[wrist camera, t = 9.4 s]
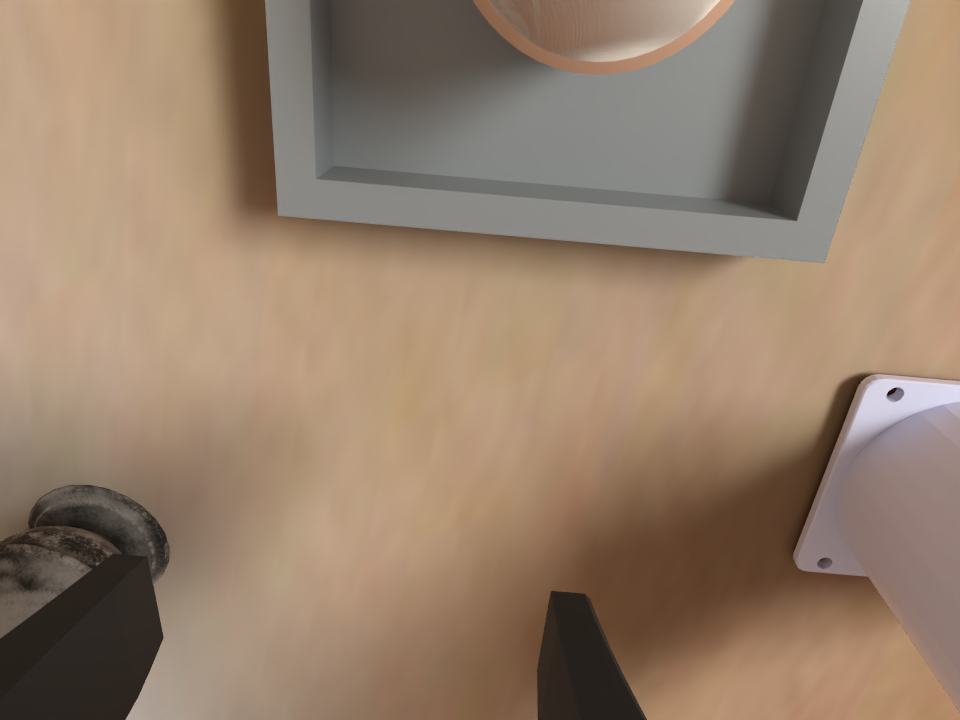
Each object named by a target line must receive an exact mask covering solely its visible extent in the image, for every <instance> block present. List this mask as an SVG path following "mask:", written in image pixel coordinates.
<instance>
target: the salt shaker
mask: <svg viewBox="0 0 960 720" xmlns="http://www.w3.org/2000/svg"><path fill="white" fill-rule="evenodd" d="M28 523H29V529H28V530H25V531H23V532H20V533H18V534H16V535H13V536H11V537H9V538H6V539H5V540H3V541H1V542H0V638H2V637H3V636H4V635H6V634H7V633H8V632H10V631H11V630H13V629H14V628H15V627H17V626H18V625H19V624H21V623H22V622H23V621H25V620H26V619H27V618H29V617H30V616H31V615H33V614H34V613H35V612H37V611H38V610H39V609H41V608H42V607H43V606H45V605H46V604H47V603H49V602H50V601H51V600H53V599H54V598H55V597H57V596H58V595H59V594H60V593H62V592H63V591H64V590H66V589H67V588H68V587H70V586H71V585H72V584H74V583H75V582H76V581H77V580H79V579H80V578H81V577H83V576H84V575H85V574H87V573H88V572H89V571H91V570H92V569H93V568H95V567H96V566H97V565H99V564H100V563H101V562H103V561H104V560H105V559H107V558H108V557H109V556H111V555H112V554H124V555H136V556H147V557H148V562H149V567H150V572H151V577H152V582H153V584H154V583H155V582H156V581H157V580H158V579H159V578H160V577H161V576H162V574H163V573H164V571H165V569H166V567H167V564H168V562H169V545H168V542H167V539H166V535H165V533H164V531H163V530H162V528H161V527H160V525H159V524H158V522H157V521H156V519H155V518H154V517H153V516H152V515H150V514H149V513H148V512H147V511H146V510H145V509H144V508H143V507H142V506H140V505H139V504H137V503H136V502H134V501H132V500H131V499H129V498H128V497H126V496H124V495H121V494H119V493H116V492H114V491H111V490H109V489H105V488H100V487H95V486H90V485H70V486H67V487H63V488H59V489H55V490H53V491H51V492H50V493H48V494H47V495H45V496H43V497H42V498H41V499H40V500H39V501H38V503H37V504H36V505H35V506H34V508H33V509H32V511H31V515H30V519H29V522H28Z"/></svg>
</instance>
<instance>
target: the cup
mask: <svg viewBox="0 0 960 720" xmlns="http://www.w3.org/2000/svg"><path fill="white" fill-rule="evenodd" d="M734 1H735V0H473V2H474V3H475V5H476V6H477V8H478V9H479V10H480V12H481V13H482V15H483V16H484V17H485V19H486V20H487V21H488V23H489V24H490V25H491V26H492V27H493V28H494V29H495V30H496V31H497V32H498V33H499V34H500V35H501V36H502V37H503V38H504V39H505V40H507V41H508V42H509V43H510V44H512V45H513V46H514V47H516V48H517V49H518V50H519V51H521V52H523V53H524V54H526V55H528V56H530V57H531V58H533V59H535V60H536V61H539V62H541V63H544V64H546V65H549V66H551V67H553V68H556V69H560V70H564V71H568V72H573V73H579V74H590V75H605V74H618V73H623V72H628V71H634V70H637V69H640V68H643V67H646V66H649V65H652V64H655V63H657V62H659V61H661V60H663V59H666V58H668V57H670V56H672V55H674V54H676V53H677V52H679V51H680V50H682V49H683V48H685V47H686V46H688V45H689V44H691V43H693V42H694V41H695V40H696V39H698V38H699V37H700V36H701V35H702V34H704V33H705V32H706V31H707V30H708V29H710V28H711V27H712V26H713V25H714V24H715V23H716V22H717V21H718V20H719V19H720V18H721V17H722V15H723V14H724V13H725V12H726V11H727V10H728V9H729V8H730V6H731V5H732V4H733V3H734Z"/></svg>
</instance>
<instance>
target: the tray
mask: <svg viewBox="0 0 960 720" xmlns="http://www.w3.org/2000/svg"><path fill="white" fill-rule="evenodd" d="M910 1H911V0H735V1H734V3H733V4H732V5H731V6H730V8H729V9H728V10H727V11H726V12H725V13H724V14H723V15H722V17H721V18H720V19H719V20H718V21H717V22H716V23H715V24H714V25H713V26H712V27H711V28H710V29H708V30H707V31H706V32H705V33H704V34H702V35H701V36H700V37H699V38H698V39H696V40H695V41H694V42H693V43H691V44H689V45H688V46H686V47H685V48H683V49H682V50H680V51H679V52H677V53H676V54H674V55H672V56H670V57H668V58H666V59H663V60H661V61H659V62H657V63H655V64H652V65H649V66H646V67H643V68H640V69H637V70H634V71H628V72H623V73H618V74H605V75H590V74H579V73H573V72H568V71H564V70H560V69H556V68H553V67H551V66H549V65H546V64H544V63H541V62H539V61H536V60H535V59H533V58H531V57H530V56H528V55H526V54H524V53H523V52H521V51H519V50H518V49H517V48H516V47H514V46H513V45H512V44H510V43H509V42H508V41H507V40H505V39H504V38H503V37H502V36H501V35H500V34H499V33H498V32H497V31H496V30H495V29H494V28H493V27H492V26H491V25H490V24H489V23H488V21H487V20H486V19H485V17H484V16H483V15H482V13H481V12H480V10H479V9H478V8H477V6H476V5H475V3H474V2H473V0H265V10H266V27H267V43H268V60H269V76H270V93H271V109H272V125H273V142H274V158H275V175H276V191H277V208H278V216H287V217H299V218H310V219H322V220H333V221H345V222H356V223H368V224H379V225H391V226H402V227H414V228H425V229H437V230H448V231H460V232H471V233H483V234H494V235H506V236H517V237H529V238H540V239H552V240H563V241H575V242H586V243H598V244H609V245H621V246H632V247H644V248H655V249H667V250H678V251H690V252H701V253H713V254H724V255H736V256H747V257H758V258H770V259H781V260H793V261H804V262H816V263H825V260H826V257H827V253H828V250H829V247H830V244H831V241H832V238H833V235H834V232H835V229H836V226H837V223H838V220H839V217H840V214H841V211H842V208H843V205H844V202H845V199H846V196H847V193H848V189H849V186H850V183H851V180H852V177H853V174H854V171H855V168H856V165H857V162H858V159H859V156H860V153H861V150H862V147H863V144H864V141H865V138H866V135H867V132H868V129H869V126H870V122H871V119H872V116H873V113H874V110H875V107H876V104H877V101H878V98H879V95H880V92H881V89H882V86H883V83H884V80H885V77H886V74H887V71H888V68H889V65H890V62H891V58H892V55H893V52H894V49H895V46H896V43H897V40H898V37H899V34H900V31H901V28H902V25H903V22H904V19H905V16H906V13H907V10H908V7H909V4H910Z"/></svg>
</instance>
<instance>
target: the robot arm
mask: <svg viewBox="0 0 960 720" xmlns="http://www.w3.org/2000/svg"><path fill="white" fill-rule="evenodd" d="M893 388H897V390H896V391H895V393H893V394H892V395H889V396H887V393H888V392H889V390H891V389H893ZM822 558H825V559H824V560H821V561H819V560H820V559H822ZM793 559H794V561H795V563H796V565H797V567H798V568H799V569H801V570H803V571H808V572H820V573H831V574H843V575H855V576H866V577H869V579H870V580H871V582H872V583H873V585H874V586H875V588H876V589H877V591H878V592H879V594H880V595H881V597H882V598H883V600H884V601H885V603H886V604H887V606H888V607H889V608H890V610H891V611H892V613H893V614H894V616H895V617H896V619H897V620H898V622H899V623H900V625H901V626H902V628H903V629H904V631H905V632H906V634H907V635H908V637H909V638H910V640H911V641H912V643H913V644H914V646H915V647H916V649H917V650H918V651H919V653H920V654H921V656H922V657H923V659H924V660H925V662H926V663H927V665H928V666H929V668H930V669H931V671H932V672H933V674H934V675H935V677H936V678H937V680H938V681H939V683H940V684H941V686H942V687H943V689H944V690H945V691H946V693H947V694H948V696H949V697H950V699H951V700H952V702H953V703H954V705H955V706H956V708H957V709H958V711H959V712H960V381H953V380H941V379H930V378H918V377H907V376H895V375H883V374H875V375H871V376H868V377H866V378H865V379H864V380H863V381H861V383H860V384H859V386H858V388H857V391H856V393H855V396H854V399H853V401H852V404H851V406H850V409H849V411H848V414H847V417H846V419H845V422H844V424H843V427H842V430H841V432H840V435H839V437H838V440H837V443H836V445H835V448H834V450H833V453H832V455H831V458H830V461H829V463H828V466H827V468H826V471H825V474H824V476H823V479H822V481H821V484H820V486H819V489H818V492H817V494H816V497H815V499H814V502H813V505H812V507H811V510H810V512H809V515H808V518H807V520H806V523H805V525H804V528H803V530H802V533H801V536H800V538H799V541H798V543H797V546H796V549H795V551H794V554H793ZM162 640H163V633H162V628H161V622H160V617H159V612H158V607H157V602H156V597H155V592H154V587H153V582H152V577H151V572H150V567H149V562H148V557H147V556H136V555H124V554H112V555H111V556H109V557H108V558H107V559H105V560H104V561H103V562H101V563H100V564H99V565H97V566H96V567H95V568H93V569H92V570H91V571H89V572H88V573H87V574H85V575H84V576H83V577H81V578H80V579H79V580H77V581H76V582H75V583H74V584H72V585H71V586H70V587H68V588H67V589H66V590H64V591H63V592H62V593H60V594H59V595H58V596H57V597H55V598H54V599H53V600H51V601H50V602H49V603H47V604H46V605H45V606H43V607H42V608H41V609H39V610H38V611H37V612H35V613H34V614H33V615H31V616H30V617H29V618H27V619H26V620H25V621H23V622H22V623H21V624H19V625H18V626H17V627H15V628H14V629H13V630H11V631H10V632H8V633H7V634H6V635H4V636H3V637H2V638H0V720H125V719H126V718H127V716H128V714H129V712H130V711H131V709H132V707H133V705H134V703H135V702H136V700H137V698H138V696H139V694H140V692H141V689H142V687H143V685H144V683H145V680H146V678H147V676H148V674H149V671H150V669H151V667H152V664H153V662H154V660H155V657H156V655H157V652H158V650H159V647H160V645H161V643H162ZM537 686H538V720H647V719H646V717H645V715H644V713H643V712H642V710H641V708H640V706H639V704H638V702H637V700H636V698H635V696H634V694H633V693H632V691H631V689H630V687H629V685H628V683H627V681H626V679H625V677H624V675H623V673H622V671H621V669H620V667H619V665H618V663H617V661H616V659H615V657H614V655H613V652H612V650H611V648H610V646H609V644H608V642H607V639H606V637H605V635H604V633H603V630H602V628H601V626H600V623H599V621H598V618H597V616H596V613H595V611H594V608H593V606H592V603H591V600H590V599H589V598H588V596H587V595H586V594H580V593H569V592H557V591H551V594H550V600H549V605H548V611H547V617H546V623H545V628H544V634H543V640H542V646H541V652H540V657H539V663H538V669H537Z"/></svg>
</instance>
